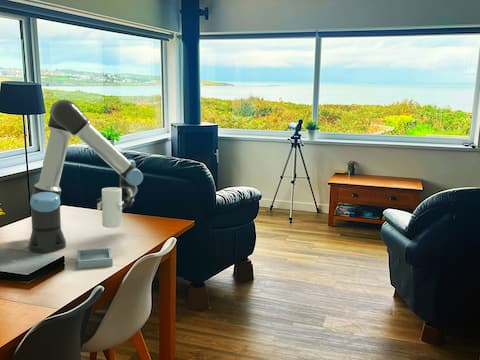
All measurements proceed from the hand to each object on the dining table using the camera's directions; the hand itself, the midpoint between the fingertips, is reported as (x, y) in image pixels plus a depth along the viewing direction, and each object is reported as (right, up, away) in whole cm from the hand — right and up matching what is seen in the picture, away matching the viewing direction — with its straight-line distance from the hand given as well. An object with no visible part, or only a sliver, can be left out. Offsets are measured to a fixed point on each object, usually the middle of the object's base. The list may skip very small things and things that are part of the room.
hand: (108, 207), depth 196 cm
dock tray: (-4, -21, -7) cm, 23 cm away
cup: (0, -8, +6) cm, 10 cm away
